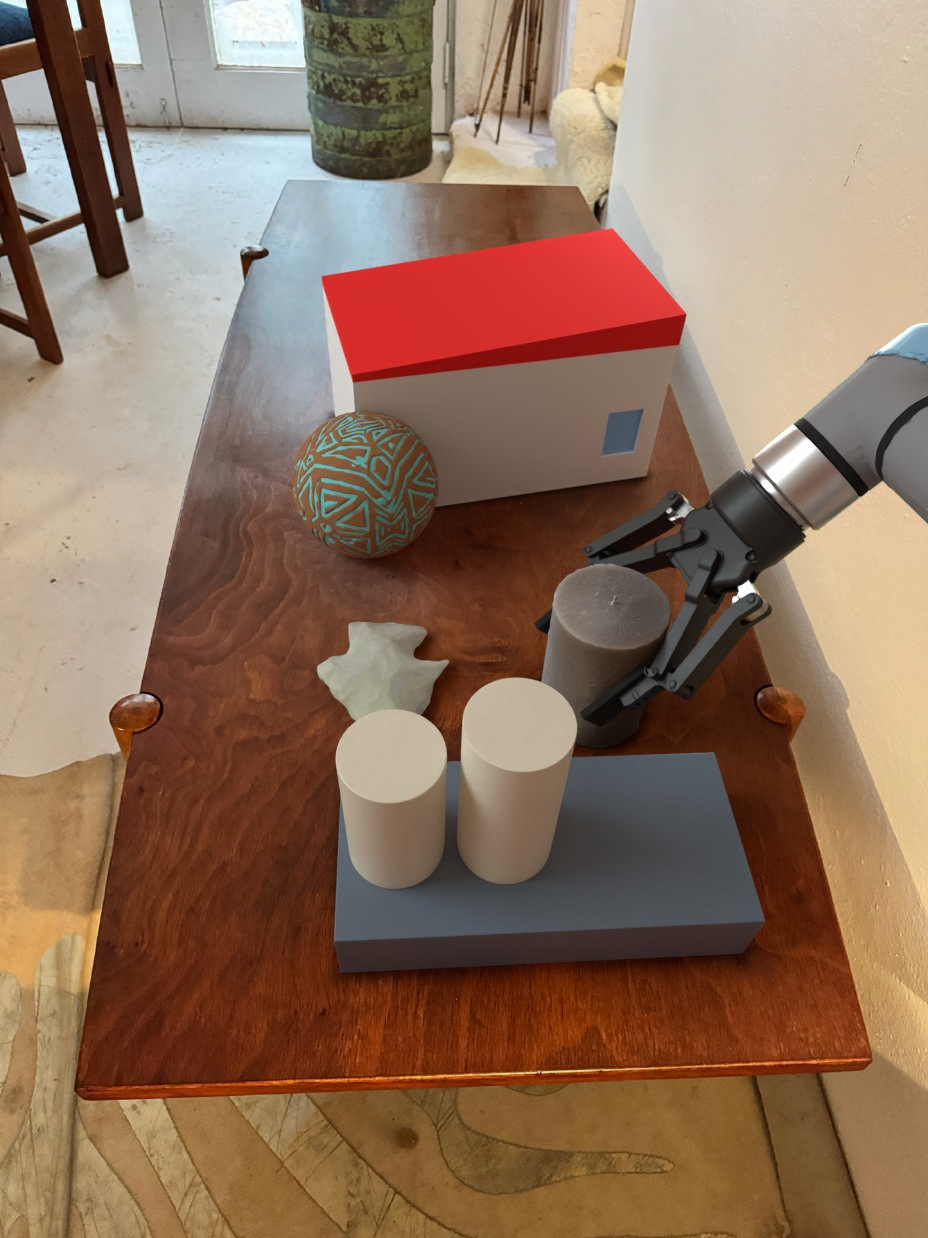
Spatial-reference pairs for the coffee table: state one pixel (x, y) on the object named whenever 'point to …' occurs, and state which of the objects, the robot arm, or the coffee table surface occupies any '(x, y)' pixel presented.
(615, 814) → the plinth
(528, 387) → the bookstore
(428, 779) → the short ivory candle
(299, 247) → the coffee table surface
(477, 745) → the tall ivory candle
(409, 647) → the arrowhead
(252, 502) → the coffee table surface
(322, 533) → the decorative sphere
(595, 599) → the pillar candle
